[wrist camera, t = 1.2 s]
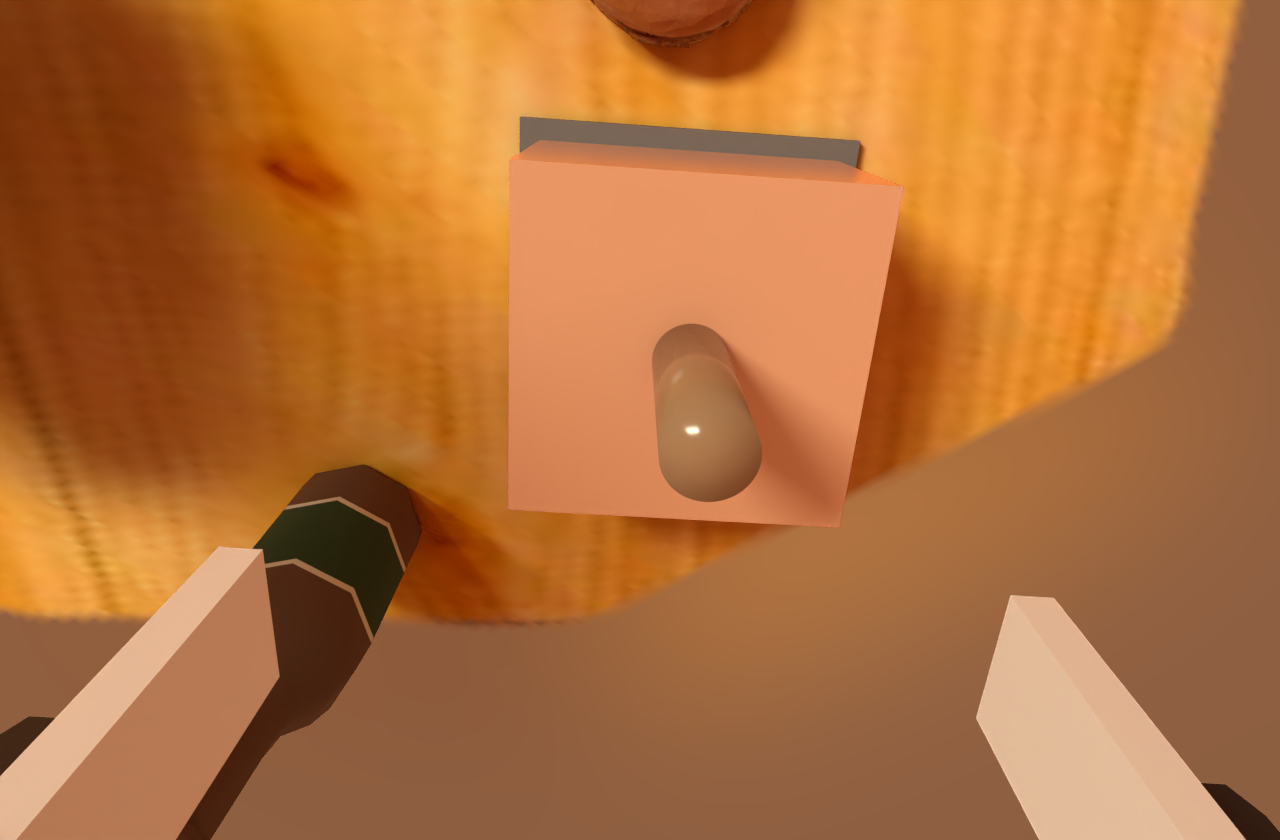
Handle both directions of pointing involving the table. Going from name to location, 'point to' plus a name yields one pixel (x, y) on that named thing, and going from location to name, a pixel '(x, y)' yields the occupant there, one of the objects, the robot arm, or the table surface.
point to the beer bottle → (318, 609)
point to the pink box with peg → (690, 330)
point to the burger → (672, 18)
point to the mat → (687, 139)
